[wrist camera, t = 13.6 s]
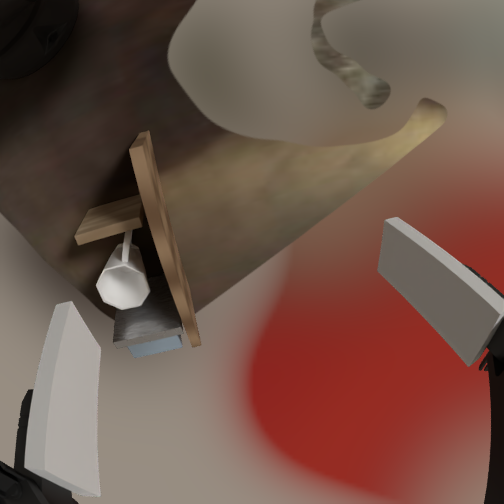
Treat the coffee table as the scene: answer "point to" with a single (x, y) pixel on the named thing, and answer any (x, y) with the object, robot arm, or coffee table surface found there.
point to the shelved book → (156, 346)
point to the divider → (111, 219)
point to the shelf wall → (163, 231)
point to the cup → (124, 277)
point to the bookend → (149, 317)
